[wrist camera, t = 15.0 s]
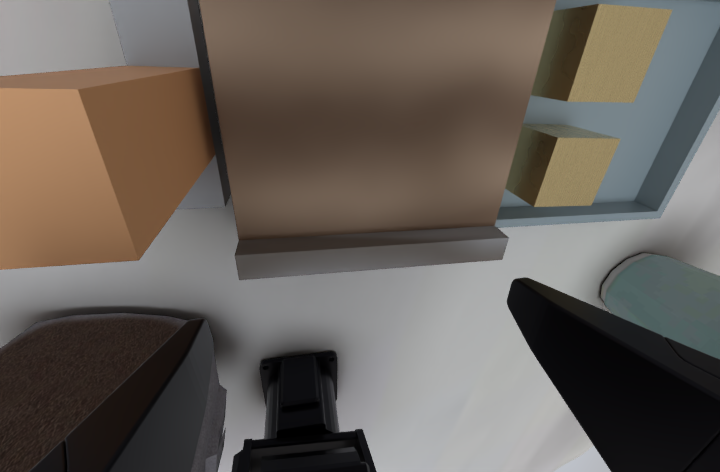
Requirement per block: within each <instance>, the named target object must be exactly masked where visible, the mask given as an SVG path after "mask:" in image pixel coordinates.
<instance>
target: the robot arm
mask: <svg viewBox="0 0 720 472" xmlns="http://www.w3.org/2000/svg"><path fill="white" fill-rule="evenodd" d="M507 305H508V308H509V310H510V311H511V313H512V315H513V317H514V319H515V321H516V323H517V325H518V327H519V328H520V330H521V332H522V334H523V336H524V338H525V340H526V342H527V343H528V345H529V347H530V349H531V351H532V352H533V354H534V355H535V357H536V358H537V360H538V361H539V363H540V364H541V366H542V368H543V369H544V371H545V372H546V374H547V375H548V377H549V378H550V380H551V381H552V383H553V384H554V386H555V387H556V389H557V390H558V392H559V393H560V395H561V396H562V398H563V399H564V401H565V402H566V404H567V405H568V407H569V408H570V410H571V411H572V413H573V414H574V416H575V417H576V419H577V420H578V422H579V424H580V425H581V427H582V428H583V430H584V431H585V433H586V434H587V436H588V437H589V439H590V440H591V442H592V443H593V445H594V446H595V448H596V449H597V451H598V452H599V454H600V455H601V457H602V458H603V460H604V461H605V463H606V464H607V466H608V467H609V469H610V470H611V472H720V359H718V358H715V357H713V356H710V355H708V354H705V353H703V352H701V351H698V350H696V349H693V348H691V347H689V346H686V345H684V344H681V343H679V342H677V341H674V340H672V339H670V338H667V337H663V336H662V335H660V334H658V333H656V332H653V331H651V330H649V329H646V328H644V327H642V326H639V325H637V324H635V323H632V322H630V321H628V320H625V319H623V318H621V317H618V316H616V315H614V314H611V313H609V312H607V311H604V310H602V309H600V308H597V307H595V306H593V305H590V304H588V303H586V302H583V301H581V300H579V299H576V298H574V297H572V296H569V295H567V294H565V293H562V292H560V291H558V290H555V289H553V288H551V287H548V286H546V285H544V284H541V283H539V282H537V281H534V280H532V279H530V278H518V279H514V280H513V281H512V284H511V287H510V291H509V294H508V298H507ZM213 350H214V343H213V338H212V335H211V331H210V328H209V325H208V322H207V320H206V319H204V318H199V319H191V320H188V321H187V322H186V323H185V324H184V325H183V326H182V327H181V328H179V329H178V330H177V331H176V332H175V333H174V334H173V335H172V336H171V337H170V338H169V339H168V340H167V341H166V342H165V343H164V344H163V345H162V346H161V347H160V348H158V349H157V350H156V351H155V352H154V353H153V354H152V355H151V356H150V357H149V358H148V359H147V360H146V361H145V362H144V363H143V364H142V365H141V366H140V367H139V368H137V369H136V370H135V371H134V372H133V373H132V374H131V375H130V376H129V377H128V378H127V379H126V380H125V381H124V382H123V383H122V384H121V385H120V386H119V387H118V388H116V389H115V390H114V391H113V392H112V393H111V394H110V395H109V396H108V397H107V398H106V399H105V400H104V401H103V402H102V403H101V404H100V405H99V406H98V407H97V408H95V409H94V410H93V411H92V412H91V413H90V414H89V415H88V416H87V417H86V418H85V419H84V420H83V421H82V422H81V423H80V424H79V425H78V426H77V427H76V428H74V429H73V430H72V431H71V432H70V433H69V434H68V435H67V436H66V437H65V441H61V442H60V443H59V444H58V445H56V446H55V447H54V448H53V449H52V450H51V451H50V452H49V453H48V454H47V455H46V456H45V457H44V458H43V459H42V460H41V461H40V462H38V463H37V464H36V465H35V466H34V467H33V468H32V469H31V470H30V471H29V472H191V469H192V465H193V461H194V457H195V453H196V448H197V444H198V440H199V436H200V432H201V428H202V423H203V419H204V415H205V410H206V406H207V399H208V392H209V383H210V375H211V366H212V358H213ZM331 357H332V358H331ZM260 374H261V380H262V386H263V392H264V398H265V404H266V421H265V436H264V439H260V440H252V439H245V440H244V446H243V450H241V451H240V452H239V453H237V454H236V455H234V459H233V466H232V472H376V469H375V466H374V463H373V460H372V457H371V454H370V451H369V448H368V445H367V441H366V438H365V435H364V432H363V430H362V429H356V430H355V431H348V432H339V424H338V417H337V409H336V400H337V355H336V353H335V352H325V353H317V354H309V355H301V356H293V357H284V358H276V359H268V360H263V361H261V363H260Z"/></svg>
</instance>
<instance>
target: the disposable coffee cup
mask: <svg viewBox="0 0 720 472" xmlns="http://www.w3.org/2000/svg"><path fill="white" fill-rule="evenodd" d="M601 298H602V299H603V300H604V302H605V303H604V304H605V305H606V306H607V308H608V309H609V310H610V311H611V312H612V313H613V314H614V315H616V316H618V317H621V318H623V319H625V320H628V321H630V322H632V323H635V324H637V325H639V326H642V327H644V328H646V329H649V330H651V331H653V332H656V333H658V334H660V335H662V336H663V337H667V338H670V339H672V340H674V341H677V342H679V343H681V344H684V345H686V346H689V347H691V348H693V349H696V350H698V351H701V352H703V353H705V354H708V355H710V356H713V357H715V358H718V359H720V276H718V275H715V274H713V273H710V272H707V271H705V270H702V269H699V268H697V267H694V266H691V265H689V264H686V263H683V262H681V261H678V260H675V259H673V258H670V257H667V256H661V255H655V254H648V253H641V254H639V255H636V256H634V257H631V258H629V259H626V260H625V261H624V262H623V263H621V264H620V265H619V266H618V267H616V268H615V269H614V270H613V271H612V272H611V273H610V275H609V276H608V277H607V279H606V280H605V282H604V283H603V285H602V290H601Z"/></svg>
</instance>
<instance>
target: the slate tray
mask: <svg viewBox="0 0 720 472" xmlns="http://www.w3.org/2000/svg"><path fill="white" fill-rule="evenodd" d="M595 4H608V5H620V6H633V7H646V8H658V9H671V10H672V13H671V15H670V17H669V20H668V22H667V25H666V27H665V29H664V32H663V34H662V36H661V39H660V41H659V44H658V46H657V48H656V51H655V53H654V56H653V58H652V60H651V63H650V65H649V67H648V70H647V72H646V75H645V77H644V79H643V82H642V84H641V87H640V89H639V91H638V94H637V96H636V99H635V101H634V103H623V102H567V101H561V100H555V99H550V98H544V97H539V96H533V95H530V99H529V103H528V106H527V110H526V114H525V117H524V121H523V124H557V125H570V126H574V127H578V128H582V129H585V130H589V131H593V132H597V133H601V134H604V135H608V136H612V137H616V138H620V139H621V140H620V142H619V144H618V146H617V149H616V151H615V153H614V155H613V158H612V160H611V162H610V165H609V167H608V169H607V171H606V174H605V176H604V178H603V180H602V183H601V185H600V187H599V189H598V192H597V194H596V196H595V198H594V201H593V203H592V205H590V206H553V207H533V206H532V205H530V204H528V203H527V202H525V201H524V200H522V199H521V198H519V197H517V196H516V195H514V194H513V193H511V192H510V191H508V190H506V189H505V190H504V194H503V198H502V201H501V205H500V208H499V212H498V216H497V219H496V223H495V226H496V227H497V228H501V227H518V226H535V225H552V224H569V223H587V222H604V221H621V220H638V219H655V218H660V217H661V215H662V214H663V212H664V210H665V208H666V206H667V204H668V203H669V201H670V199H671V197H672V195H673V193H674V192H675V190H676V188H677V186H678V184H679V183H680V181H681V179H682V177H683V175H684V173H685V172H686V170H687V168H688V166H689V164H690V162H691V161H692V159H693V157H694V155H695V153H696V152H697V150H698V148H699V146H700V144H701V142H702V141H703V139H704V137H705V135H706V133H707V131H708V130H709V128H710V126H711V124H712V122H713V121H714V119H715V117H716V115H717V113H718V111H719V110H720V0H556V4H555V8H554V11H556V10H562V9H569V8H575V7H582V6H588V5H595Z"/></svg>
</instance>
